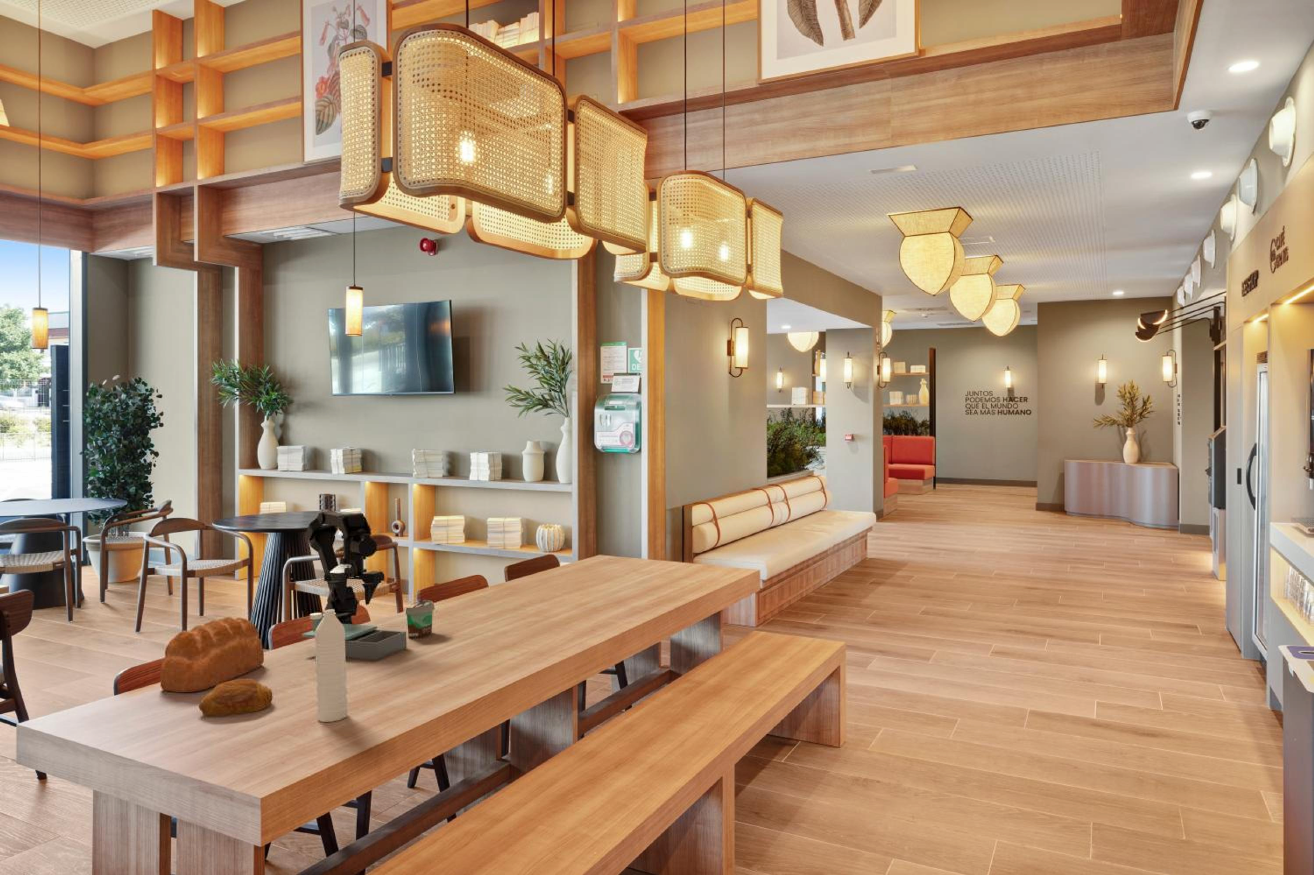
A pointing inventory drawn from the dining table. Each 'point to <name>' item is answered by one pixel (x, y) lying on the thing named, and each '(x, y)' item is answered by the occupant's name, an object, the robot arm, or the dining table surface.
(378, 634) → the parts box
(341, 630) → the water bottle
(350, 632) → the lid
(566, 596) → the dining table surface
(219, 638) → the bread
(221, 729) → the dining table surface
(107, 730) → the dining table surface
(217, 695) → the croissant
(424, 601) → the food container
